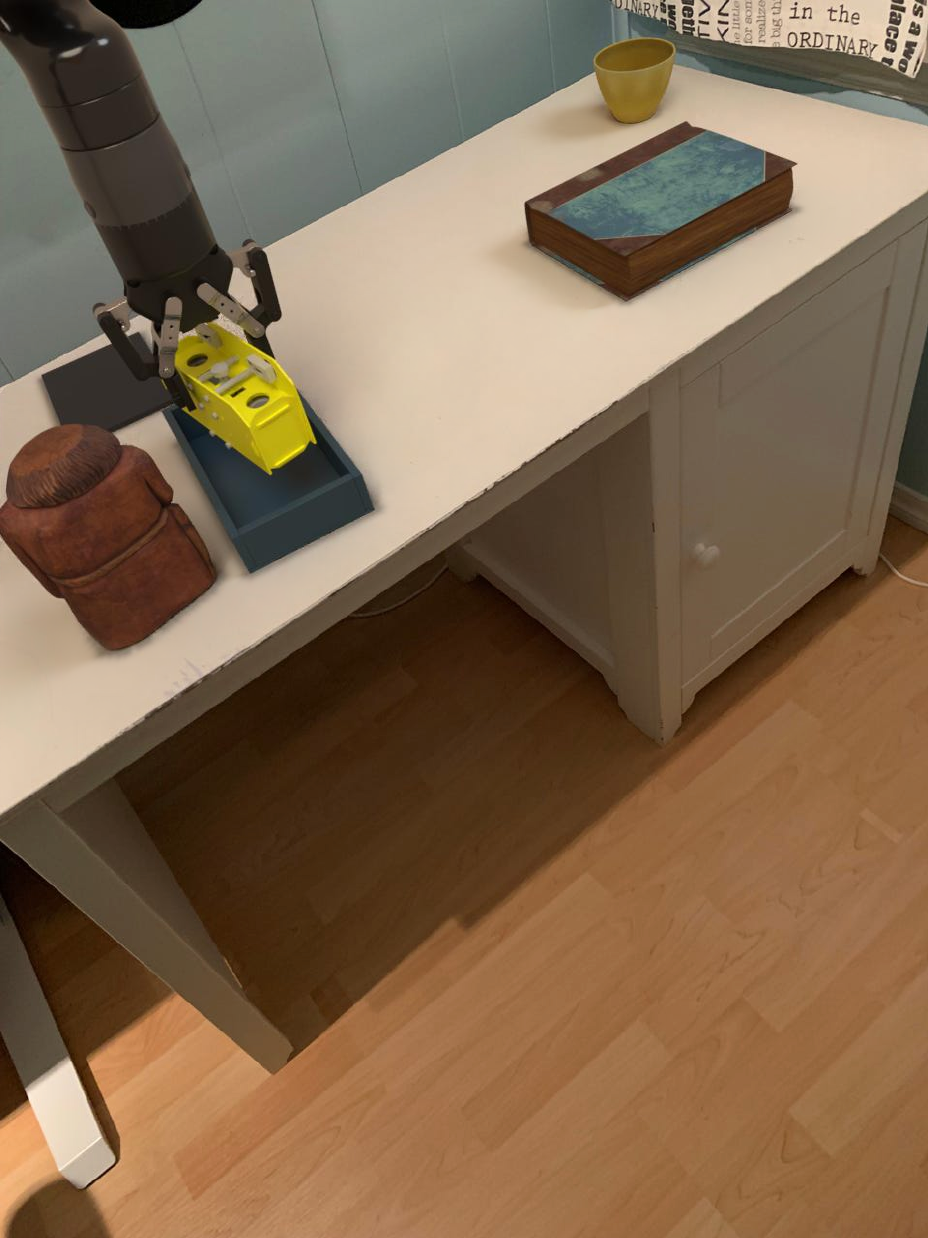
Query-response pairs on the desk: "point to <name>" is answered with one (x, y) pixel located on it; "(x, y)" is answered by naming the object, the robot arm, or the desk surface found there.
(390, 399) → the desk surface
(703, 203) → the book
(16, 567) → the desk surface
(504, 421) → the desk surface
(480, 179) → the desk surface
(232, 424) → the yellow toy chassis
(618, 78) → the flower pot
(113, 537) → the wooden figurine
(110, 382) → the mat
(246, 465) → the bin
